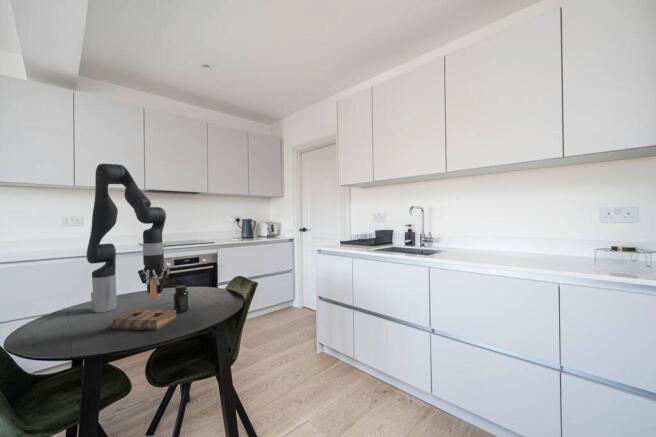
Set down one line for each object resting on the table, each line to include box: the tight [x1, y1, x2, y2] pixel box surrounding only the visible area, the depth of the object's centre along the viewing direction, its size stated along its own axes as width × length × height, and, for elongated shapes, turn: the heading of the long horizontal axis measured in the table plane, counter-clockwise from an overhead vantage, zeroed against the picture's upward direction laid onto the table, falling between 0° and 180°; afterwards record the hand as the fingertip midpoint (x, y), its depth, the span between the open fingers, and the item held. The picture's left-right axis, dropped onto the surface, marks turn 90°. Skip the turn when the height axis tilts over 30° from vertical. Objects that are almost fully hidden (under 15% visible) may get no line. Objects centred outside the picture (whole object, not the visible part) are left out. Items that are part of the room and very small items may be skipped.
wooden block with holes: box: [112, 308, 177, 331], centre depth 121 cm, size 20×12×4 cm, turn 84°
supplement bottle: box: [172, 284, 190, 314], centre depth 136 cm, size 7×7×12 cm
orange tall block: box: [149, 278, 161, 301], centre depth 120 cm, size 4×4×9 cm
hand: (155, 292), depth 120 cm, fingers closed on orange tall block, 3 cm apart
